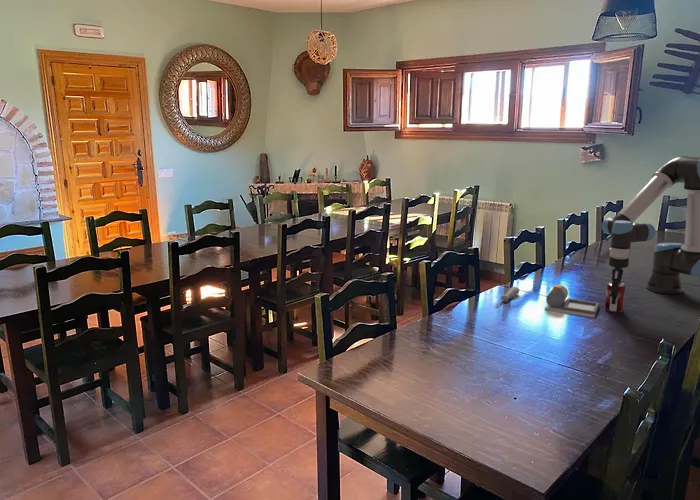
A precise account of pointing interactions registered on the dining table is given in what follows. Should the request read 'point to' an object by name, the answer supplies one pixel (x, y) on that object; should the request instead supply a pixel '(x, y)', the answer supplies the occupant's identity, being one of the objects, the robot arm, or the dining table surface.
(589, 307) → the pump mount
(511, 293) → the screwdriver
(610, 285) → the soda can
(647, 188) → the robot arm
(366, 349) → the dining table surface
